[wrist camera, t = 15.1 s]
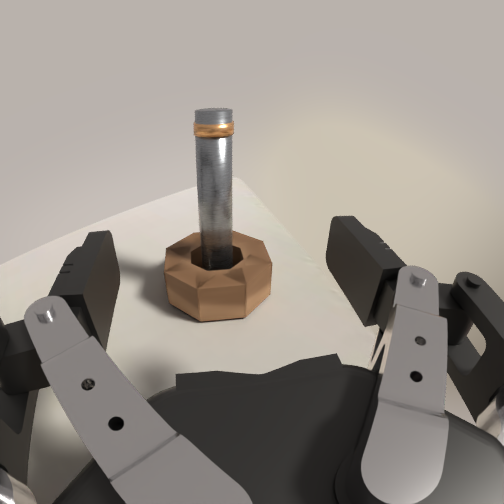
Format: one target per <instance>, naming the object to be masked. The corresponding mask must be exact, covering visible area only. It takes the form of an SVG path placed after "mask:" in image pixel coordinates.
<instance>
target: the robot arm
mask: <svg viewBox="0 0 504 504" xmlns="http://www.w3.org/2000/svg"><path fill="white" fill-rule="evenodd" d="M326 263H327V266H328V269H329V270H330V272H331V273H332V275H333V276H334V278H335V280H336V281H337V283H338V284H339V286H340V288H341V289H342V291H343V292H344V294H345V296H346V297H347V299H348V300H349V302H350V304H351V305H352V307H353V308H354V310H355V312H356V313H357V315H358V317H359V318H360V320H361V322H362V323H363V325H364V327H366V326H371V325H376V324H378V326H379V329H378V332H377V334H376V338H375V342H374V346H373V349H372V353H371V357H370V360H369V364H368V367H367V369H366V368H363V367H359V366H353V365H344V364H341V361H340V359H339V357H338V355H337V353H336V354H331V355H325V356H320V357H315V358H309V359H303V360H299V361H296V362H294V363H291V364H289V365H286V366H284V367H281V368H279V369H276V370H273V371H271V372H268V373H265V374H245V373H234V372H223V371H210V372H198V373H185V374H176V386H175V387H172V388H168V389H166V390H164V391H161V392H159V393H157V394H155V395H153V396H152V397H150V398H149V399H147V400H145V399H144V398H143V397H142V396H141V394H140V393H139V392H138V391H137V390H136V389H135V388H134V386H133V385H132V384H131V383H130V382H129V380H128V379H127V378H126V377H125V376H124V374H123V373H122V372H121V371H120V370H119V368H118V367H117V366H116V365H115V363H114V362H113V361H112V360H111V358H110V357H109V356H108V354H107V353H106V348H107V342H108V337H109V332H110V327H111V322H112V317H113V312H114V308H115V303H116V299H117V294H118V290H119V286H120V271H119V266H118V261H117V257H116V252H115V248H114V243H113V238H112V234H111V232H110V231H109V230H107V231H97V232H89V234H88V235H87V237H86V239H85V241H84V243H83V245H82V247H77V248H75V249H74V250H73V251H72V252H71V253H70V254H69V255H68V256H67V258H66V260H65V262H64V264H63V266H62V268H61V270H60V272H59V273H60V274H58V276H57V278H56V280H55V282H54V284H53V286H52V288H51V290H50V293H49V295H48V296H47V297H43V298H41V299H39V300H37V301H35V302H34V303H33V304H31V305H30V306H29V308H28V309H27V310H26V312H25V315H24V320H20V321H17V322H14V323H10V324H7V325H4V323H3V321H2V320H1V318H0V504H37V503H36V500H35V497H34V495H33V493H32V491H31V490H30V489H29V488H28V487H27V471H28V459H29V449H30V440H31V433H32V426H33V419H34V413H35V407H36V401H37V396H38V391H39V389H41V388H45V387H49V386H51V387H52V389H53V391H54V393H55V395H56V397H57V399H58V401H59V402H60V404H61V406H62V408H63V410H64V411H65V413H66V415H67V417H68V418H69V420H70V422H71V423H72V425H73V427H74V428H75V430H76V432H77V433H78V435H79V436H80V438H81V439H82V441H83V443H84V444H85V446H86V447H87V449H88V450H89V452H90V453H91V455H92V456H93V459H92V460H91V461H90V462H89V463H88V464H87V465H86V466H85V468H84V469H83V470H82V471H81V472H80V473H79V474H78V475H77V477H76V478H75V479H74V480H73V481H72V482H71V483H70V484H69V485H68V487H67V488H66V489H65V490H64V491H63V492H62V493H61V494H60V495H59V497H58V498H57V499H56V500H55V501H54V502H53V503H52V504H504V302H503V301H502V300H501V299H500V297H499V296H498V295H497V294H496V293H495V292H494V291H493V290H492V289H491V287H490V286H489V285H488V284H487V283H486V282H485V281H484V280H483V279H482V278H480V277H478V276H477V275H475V274H472V273H469V272H460V273H458V274H457V275H456V278H455V280H454V283H453V284H443V283H438V281H437V279H436V278H435V276H434V275H433V274H432V273H430V272H429V271H427V270H426V269H423V268H421V267H417V266H407V265H406V264H405V263H404V262H403V261H402V260H401V259H400V258H399V257H398V256H397V255H396V253H395V252H394V251H393V250H392V249H390V247H389V246H388V245H387V244H386V243H384V241H383V240H382V239H381V238H380V237H379V236H378V235H377V234H376V233H374V232H372V231H371V230H369V229H367V228H365V227H364V226H363V225H362V224H361V223H360V222H359V221H358V220H357V219H356V218H355V217H354V216H335V217H333V219H332V221H331V226H330V232H329V238H328V244H327V251H326ZM473 323H474V324H475V325H476V327H477V328H478V329H479V331H480V332H481V333H482V335H483V336H484V338H485V340H486V349H485V352H484V353H483V355H482V356H480V355H479V353H478V352H477V350H476V349H475V347H474V346H473V345H472V343H471V342H470V340H469V339H468V337H467V334H468V332H469V331H470V329H471V327H472V325H473ZM447 373H448V374H449V376H450V378H451V379H452V381H453V383H454V385H455V386H456V388H457V390H458V392H459V393H460V395H461V397H462V399H463V400H464V402H465V404H466V406H467V408H468V409H469V411H470V413H471V415H472V417H473V419H474V421H475V422H476V426H474V425H473V424H471V423H469V422H467V421H465V420H463V419H461V418H459V417H457V416H455V415H453V414H452V413H450V412H448V411H446V410H444V405H445V393H446V378H447V377H446V376H447Z"/></svg>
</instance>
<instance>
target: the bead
mask: <svg viewBox="0 0 504 504" xmlns="http://www.w3.org/2000/svg"><path fill="white" fill-rule="evenodd" d="M232 245H233V268H231V269H227V270H214V271H206V270H204V269H202V256H201V242H200V232H198V233H193V234H191V235H189V236H187V237H186V238H184V239H182V240H180V241H178V242H177V243H175V244H173V245H171V246H170V247H168V248H166V256H165V267H164V276H165V282H166V288H167V294H168V300H169V303H170V304H172V305H173V306H175V307H177V308H179V309H180V310H182V311H184V312H185V313H187V314H189V315H190V316H192V317H194V318H196V319H197V320H199V321H211V320H222V319H233V318H243V317H246V316H248V315H249V314H250V313H251V312H252V311H253V310H254V309H255V308H256V307H257V306H258V305H259V304H260V303H261V302H262V301H263V300H264V299H265V298H267V297H268V296H269V295H270V289H271V275H272V262H271V259H270V257H269V255H268V252H267V250H266V247H265V245H264V243H263V241H261V240H258V239H255V238H252V237H249V236H247V235H244V234H241V233H238V232H235V231H232Z"/></svg>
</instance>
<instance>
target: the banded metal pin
mask: <svg viewBox="0 0 504 504" xmlns="http://www.w3.org/2000/svg"><path fill="white" fill-rule="evenodd" d="M233 134H234V121H232V109H227V108H208V109H200V110H196V111H195V122H194V135H195V138H196V168H197V190H198V209H199V226H200V242H201V256H202V269H204V270H206V271H214V270H227V269H231V268H233V245H232V135H233Z"/></svg>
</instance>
